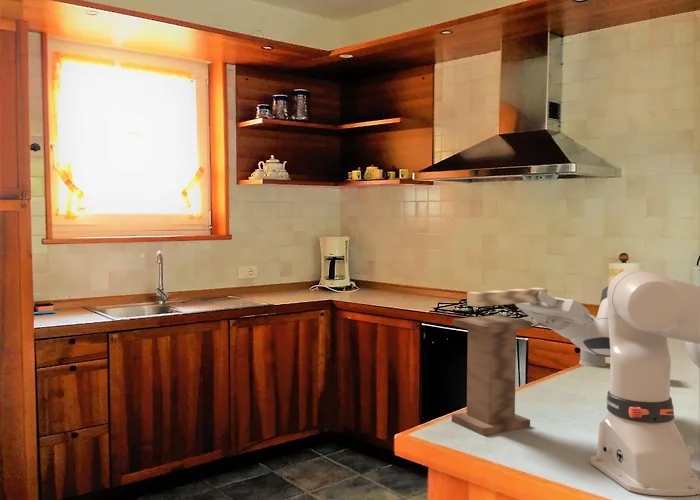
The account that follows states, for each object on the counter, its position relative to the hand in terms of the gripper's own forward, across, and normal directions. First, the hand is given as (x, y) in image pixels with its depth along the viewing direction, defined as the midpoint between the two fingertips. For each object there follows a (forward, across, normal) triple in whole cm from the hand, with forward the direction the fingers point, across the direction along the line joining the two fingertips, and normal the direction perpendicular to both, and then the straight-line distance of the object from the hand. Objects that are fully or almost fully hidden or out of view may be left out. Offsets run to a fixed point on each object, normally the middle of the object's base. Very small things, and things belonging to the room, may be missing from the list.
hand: (530, 293), depth 163 cm
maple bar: (+5, 0, -5) cm, 7 cm away
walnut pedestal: (-5, 0, -33) cm, 33 cm away
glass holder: (-68, +31, +3) cm, 74 cm away
